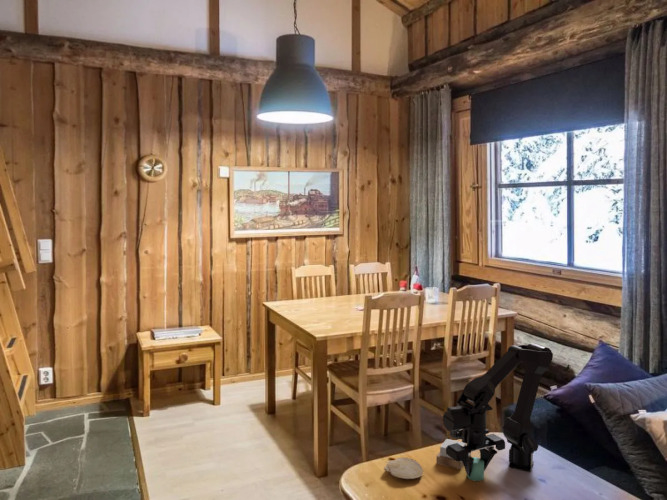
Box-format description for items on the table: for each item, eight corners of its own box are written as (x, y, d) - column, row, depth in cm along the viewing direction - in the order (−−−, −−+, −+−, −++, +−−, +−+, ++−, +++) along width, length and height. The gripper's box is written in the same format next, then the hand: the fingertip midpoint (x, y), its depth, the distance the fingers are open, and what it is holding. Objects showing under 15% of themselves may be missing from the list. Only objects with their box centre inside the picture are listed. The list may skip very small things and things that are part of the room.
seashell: (430, 479, 163) (430, 470, 163) (397, 488, 159) (397, 478, 158) (410, 462, 174) (411, 454, 174) (378, 469, 169) (378, 461, 169)
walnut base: (467, 459, 176) (467, 451, 175) (460, 471, 169) (461, 461, 168) (444, 454, 180) (444, 445, 179) (436, 464, 173) (436, 456, 172)
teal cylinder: (485, 475, 165) (486, 459, 165) (481, 482, 161) (481, 466, 160) (469, 471, 168) (469, 455, 167) (465, 478, 163) (465, 462, 163)
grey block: (465, 451, 175) (465, 442, 175) (460, 460, 169) (460, 451, 169) (446, 447, 178) (446, 438, 178) (440, 455, 172) (440, 446, 172)
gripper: (482, 409, 174) (481, 455, 175) (435, 420, 166) (434, 468, 168) (507, 422, 164) (506, 471, 165) (458, 435, 156) (457, 485, 157)
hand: (475, 473), depth 164 cm, fingers closed on teal cylinder, 5 cm apart
